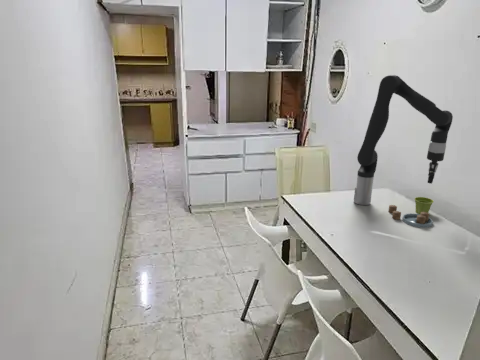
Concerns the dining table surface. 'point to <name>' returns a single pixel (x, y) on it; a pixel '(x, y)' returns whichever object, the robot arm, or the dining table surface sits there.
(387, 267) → the dining table surface
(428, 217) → the seated bead
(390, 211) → the pile bead
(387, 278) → the dining table surface
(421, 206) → the plant pot
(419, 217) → the seated bead
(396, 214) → the brown rounded dome
